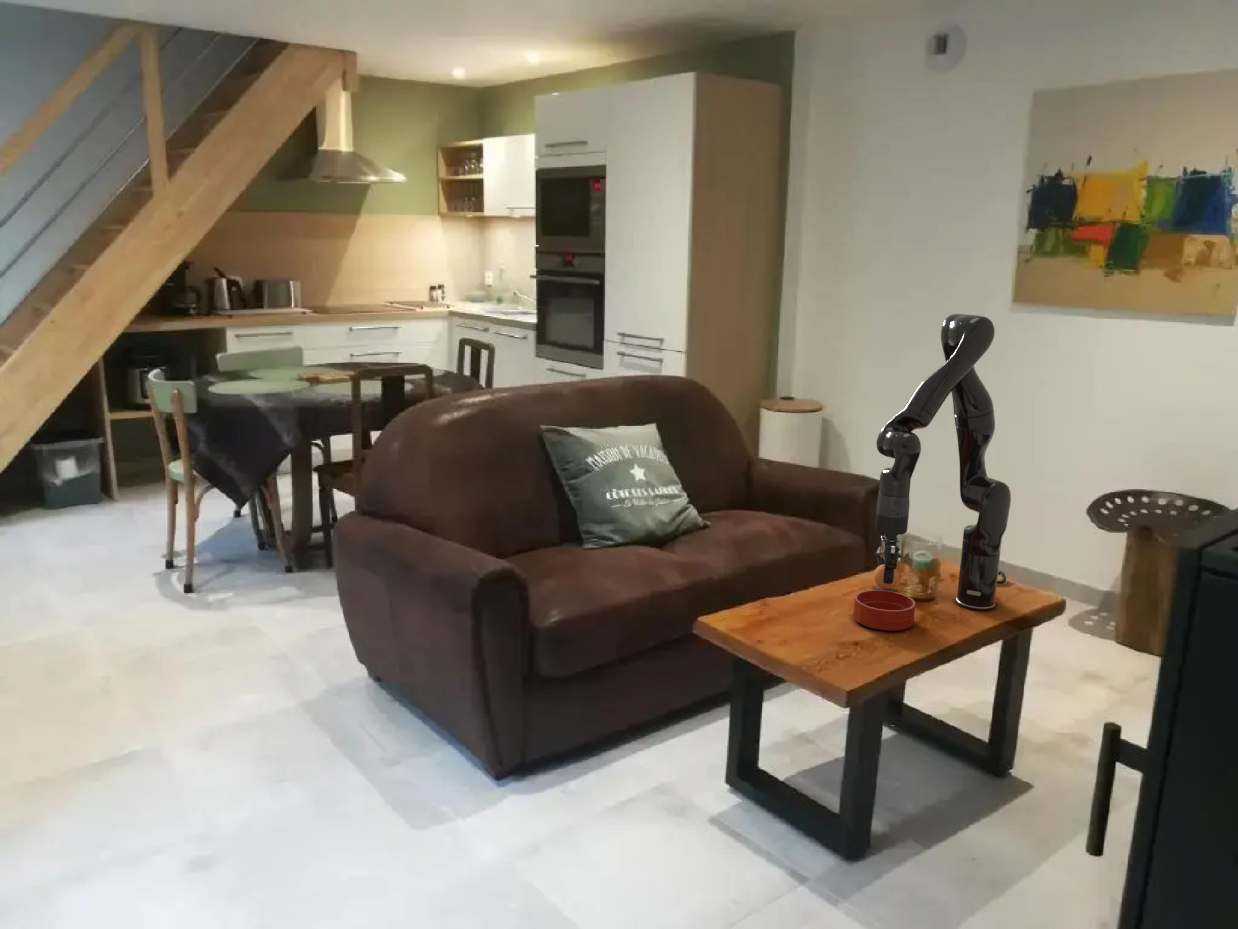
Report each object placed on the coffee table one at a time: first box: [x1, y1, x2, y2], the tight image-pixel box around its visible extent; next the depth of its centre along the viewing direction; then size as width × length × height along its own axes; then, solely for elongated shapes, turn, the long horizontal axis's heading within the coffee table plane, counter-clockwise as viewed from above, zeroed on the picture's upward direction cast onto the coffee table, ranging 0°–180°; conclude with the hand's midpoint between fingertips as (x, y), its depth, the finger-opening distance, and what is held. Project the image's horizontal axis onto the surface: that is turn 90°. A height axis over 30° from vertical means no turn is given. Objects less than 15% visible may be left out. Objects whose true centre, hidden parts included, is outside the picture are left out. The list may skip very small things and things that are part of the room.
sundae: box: [874, 534, 902, 592], centre depth 257 cm, size 7×7×15 cm
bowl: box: [852, 589, 916, 632], centre depth 236 cm, size 14×14×6 cm
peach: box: [873, 562, 901, 589], centre depth 234 cm, size 6×6×7 cm
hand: (886, 578), depth 235 cm, fingers closed on peach, 6 cm apart
